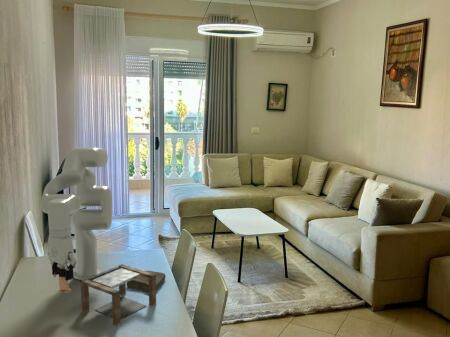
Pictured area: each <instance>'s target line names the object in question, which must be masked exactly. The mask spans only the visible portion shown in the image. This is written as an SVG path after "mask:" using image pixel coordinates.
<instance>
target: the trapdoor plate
mask: <svg viewBox="0 0 450 337" xmlns="http://www.w3.org/2000/svg"><path fill="white" fill-rule="evenodd" d="M113 271H114V272H113ZM108 273H109V274H108ZM103 275H104V276H103ZM98 277H99V278H98ZM137 277H140V274H138V273H135V272H132V271H129V270H126V269H122V268H121V269H120V267H118V266H115V267H112V268H109V269H107V270H104V271H101V273H99V274H97V275H94V276H92V277H89V278H88V280H89V281H91V280H92V282H95V283H98V284H101V285H103V286H106V287H109V288H112V289H115V288H117V287H119V286H120V285H122V284H124V283H126V284H127V282H128V281H131V280H133V279H135V278H137ZM93 279H94V280H93Z"/></svg>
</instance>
